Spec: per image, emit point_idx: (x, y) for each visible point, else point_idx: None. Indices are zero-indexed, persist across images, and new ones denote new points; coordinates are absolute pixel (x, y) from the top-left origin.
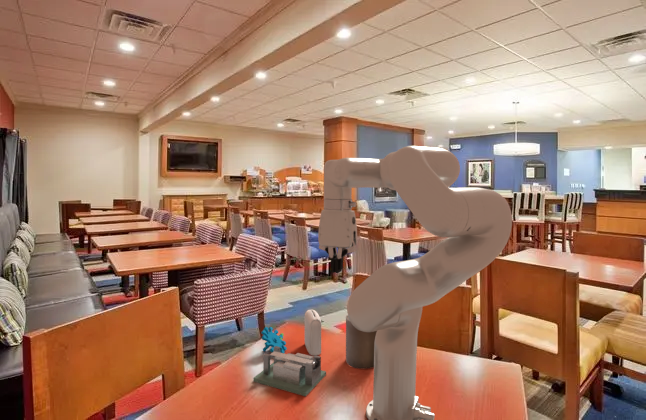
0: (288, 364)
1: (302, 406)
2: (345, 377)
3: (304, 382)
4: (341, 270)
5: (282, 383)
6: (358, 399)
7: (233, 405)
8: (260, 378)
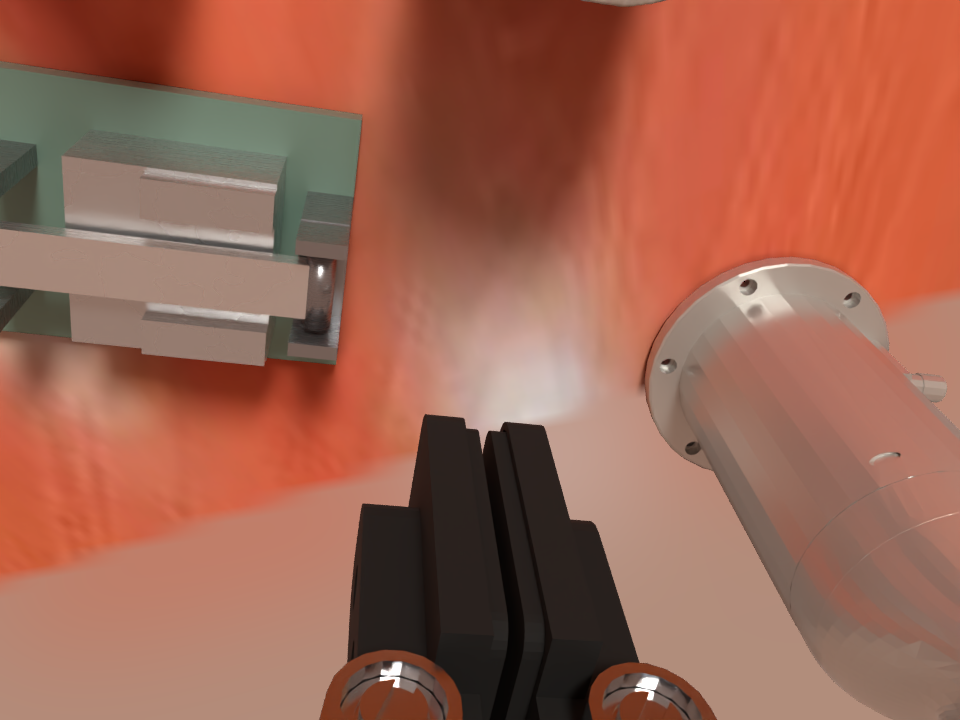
0: (174, 345)
1: (355, 424)
2: (487, 104)
3: None
4: (540, 429)
5: None
6: (596, 296)
7: (58, 509)
8: (27, 322)
